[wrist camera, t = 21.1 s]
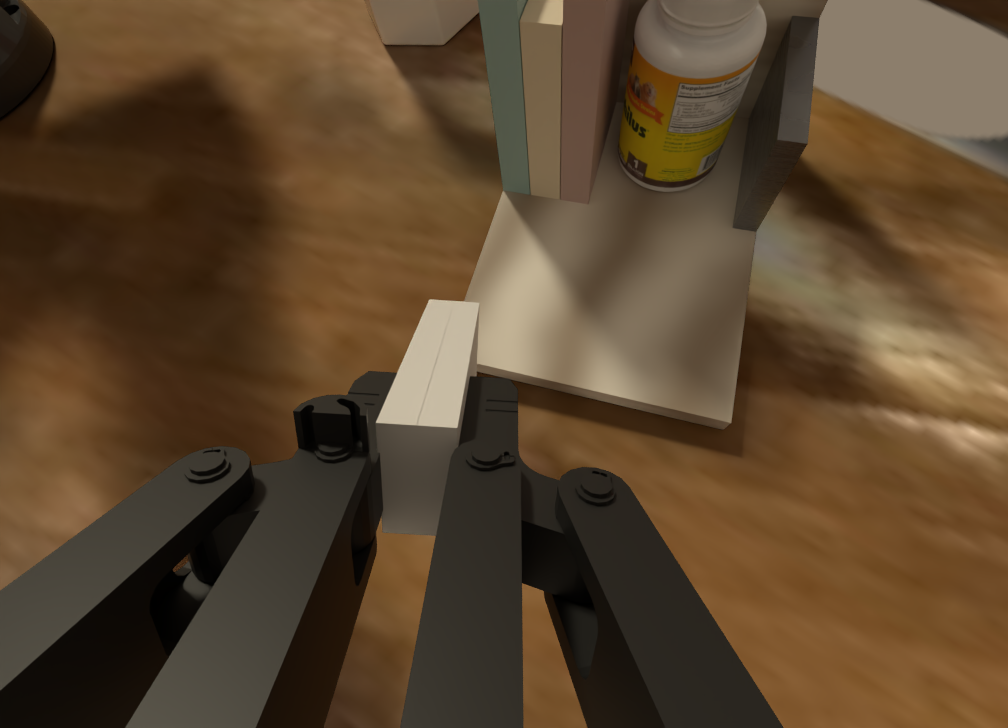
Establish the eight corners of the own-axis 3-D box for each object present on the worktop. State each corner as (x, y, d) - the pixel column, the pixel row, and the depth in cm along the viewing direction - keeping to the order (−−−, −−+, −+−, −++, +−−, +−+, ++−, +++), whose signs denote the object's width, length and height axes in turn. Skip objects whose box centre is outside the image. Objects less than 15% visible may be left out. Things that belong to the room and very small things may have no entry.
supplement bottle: (612, 126, 31) (637, -72, 21) (707, 120, 30) (775, -86, 21) (619, 200, 29) (651, 17, 19) (722, 195, 28) (805, 3, 19)
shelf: (449, 364, 27) (362, 193, 15) (543, 95, 34) (536, -173, 22) (723, 429, 24) (889, 285, 12) (764, 122, 31) (897, -164, 19)
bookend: (732, 227, 27) (777, 139, 22) (748, 118, 30) (792, 15, 25) (756, 231, 27) (807, 143, 22) (770, 121, 30) (819, 17, 24)
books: (503, 190, 30) (474, -27, 19) (538, 92, 32) (529, -145, 22) (588, 204, 29) (607, -15, 18) (616, 102, 32) (647, -141, 21)
